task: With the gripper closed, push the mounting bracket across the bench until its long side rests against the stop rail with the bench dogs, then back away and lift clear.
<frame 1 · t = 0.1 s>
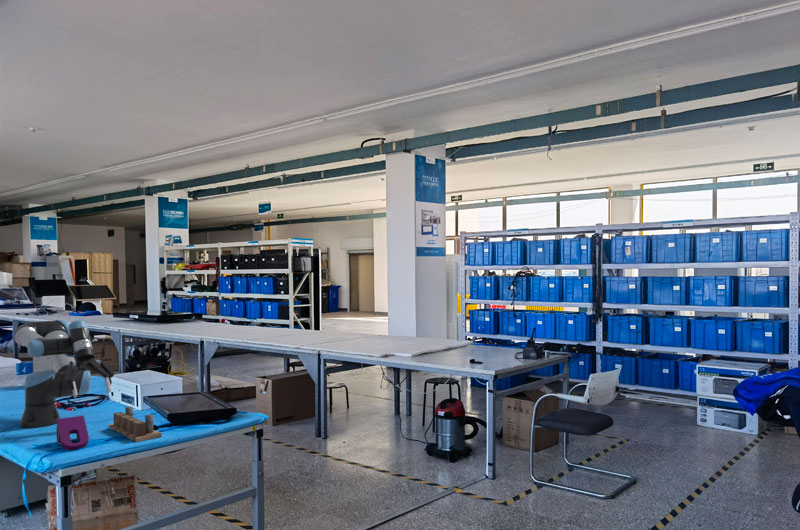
hand: (93, 393, 250), 15 cm above the table, tool tilted 35°, fingers open, 13 cm apart
hard drive box: (47, 386, 353), on the table
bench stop: (125, 433, 241), on the table
mounting bracket: (73, 445, 227), on the table
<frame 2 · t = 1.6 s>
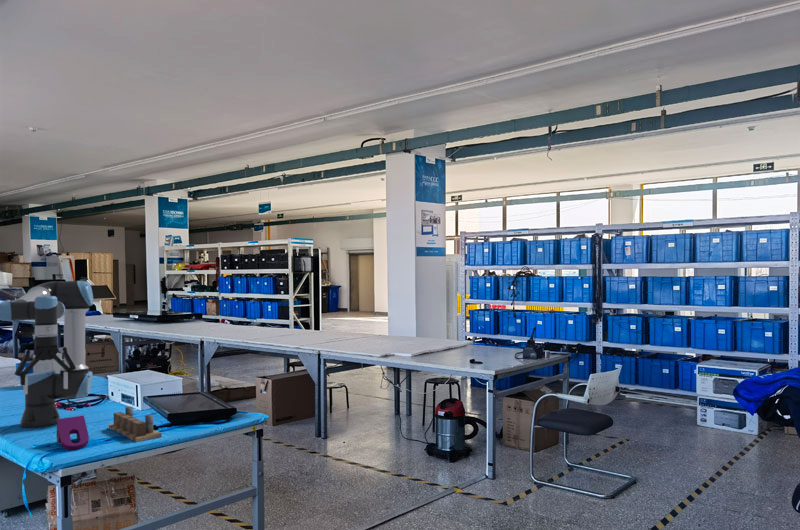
hand: (46, 391, 221), 22 cm above the table, tool pointing down, fingers open, 13 cm apart
nothing on the table moved.
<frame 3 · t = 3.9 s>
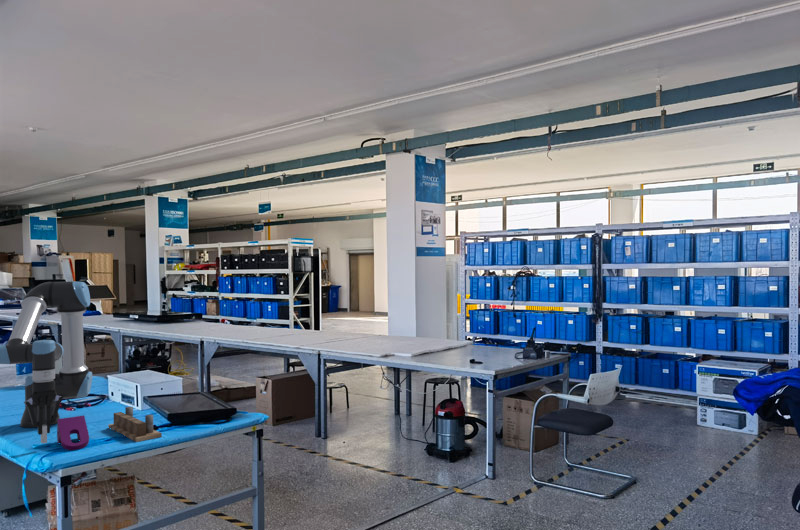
hand: (43, 442, 220), 3 cm above the table, tool pointing down, fingers closed
nothing on the table moved.
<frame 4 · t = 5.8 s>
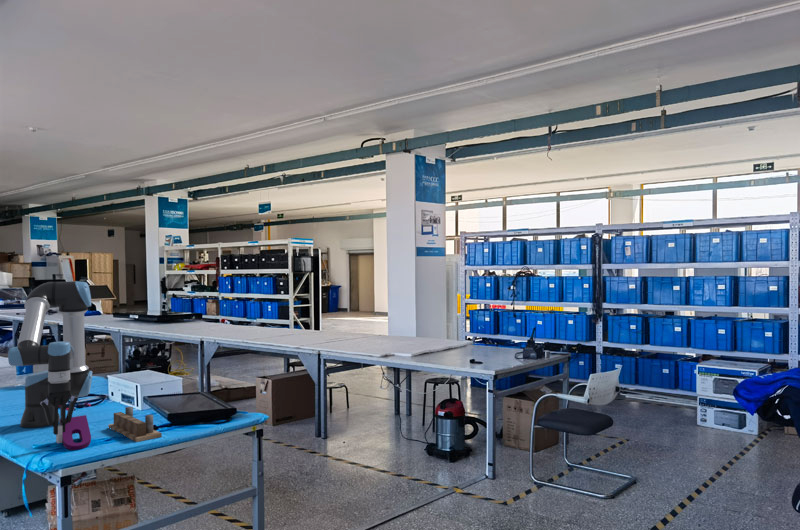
hand: (59, 442, 224), 2 cm above the table, tool pointing down, fingers closed
mounting bracket: (75, 445, 228), on the table, touching gripper
everything else where it was.
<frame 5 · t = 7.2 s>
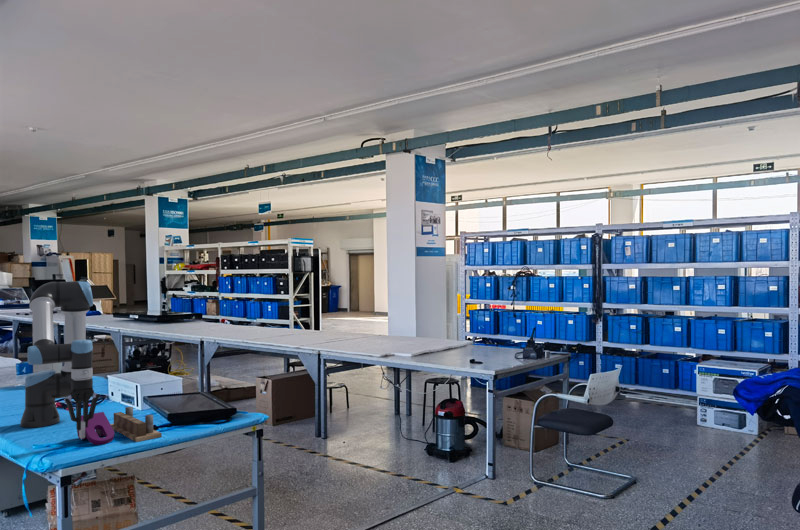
hand: (82, 437, 230), 2 cm above the table, tool pointing down, fingers closed
mounting bracket: (97, 440, 233), on the table
everything else where it was.
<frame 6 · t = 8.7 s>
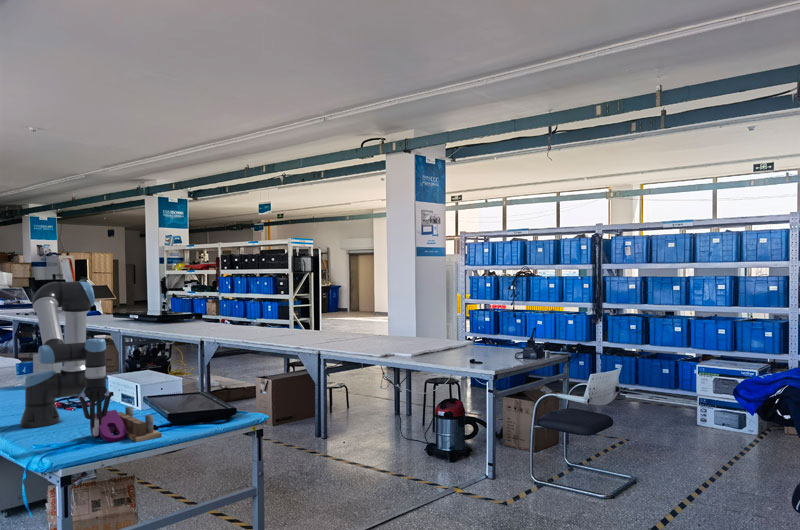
hand: (95, 435, 233), 2 cm above the table, tool pointing down, fingers closed
mounting bracket: (110, 438, 237), on the table, touching gripper
everything else where it was.
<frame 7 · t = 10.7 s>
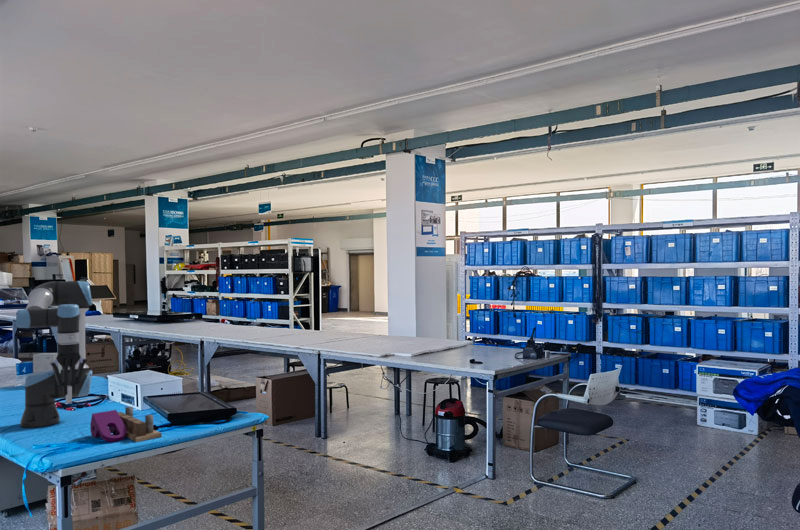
hand: (68, 402, 228), 16 cm above the table, tool pointing down, fingers closed
mounting bracket: (110, 438, 237), on the table
everything else where it was.
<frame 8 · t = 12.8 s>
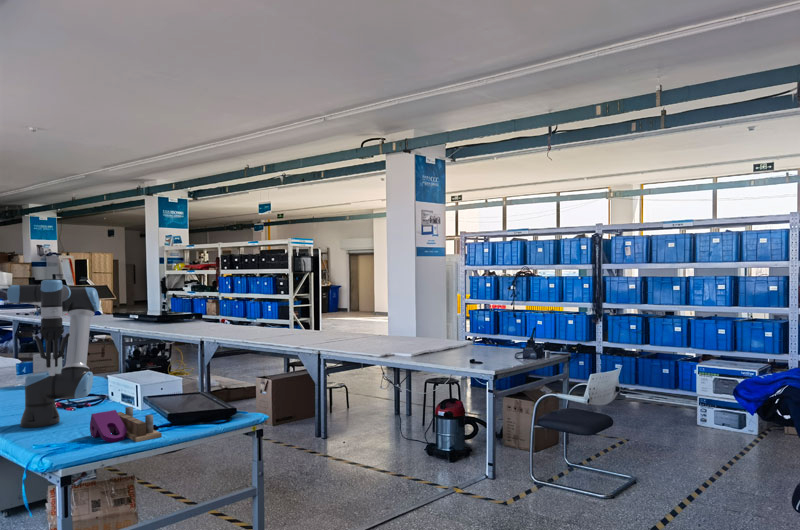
hand: (51, 375, 234), 26 cm above the table, tool pointing down, fingers closed
nothing on the table moved.
at the end: mounting bracket inside the target area (0.5 cm from its centre), on the table; mounting bracket moved 13.7 cm from its start; mounting bracket tilted 0° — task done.
